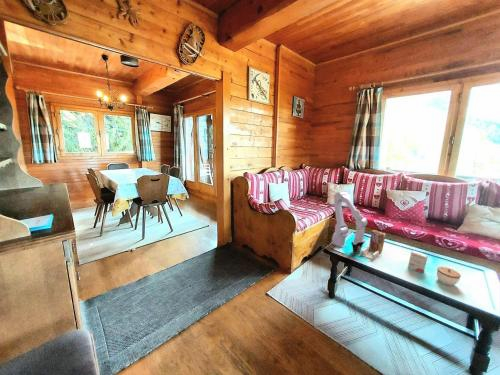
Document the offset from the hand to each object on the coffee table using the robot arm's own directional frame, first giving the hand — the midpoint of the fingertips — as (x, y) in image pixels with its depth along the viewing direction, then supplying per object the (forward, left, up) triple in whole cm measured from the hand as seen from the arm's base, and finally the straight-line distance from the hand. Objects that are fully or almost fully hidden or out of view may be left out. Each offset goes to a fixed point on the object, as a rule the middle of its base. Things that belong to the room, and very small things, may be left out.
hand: (356, 250), depth 166 cm
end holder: (+8, +5, -3) cm, 10 cm away
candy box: (+7, +19, -3) cm, 20 cm away
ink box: (+35, +13, -3) cm, 37 cm away
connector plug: (0, -2, -3) cm, 4 cm away
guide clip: (+4, +3, -3) cm, 6 cm away
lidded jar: (+51, +11, -3) cm, 52 cm away
